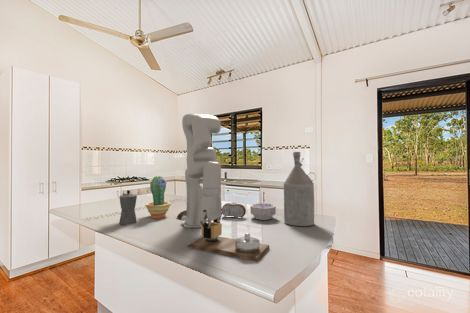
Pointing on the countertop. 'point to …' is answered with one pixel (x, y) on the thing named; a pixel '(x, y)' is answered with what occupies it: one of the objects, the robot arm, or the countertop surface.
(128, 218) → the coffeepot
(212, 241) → the round drawer knob
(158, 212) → the potted cactus
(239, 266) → the countertop surface
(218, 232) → the hollow square block
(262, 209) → the paper bowls
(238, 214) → the tin
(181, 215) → the bread roll
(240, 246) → the hub
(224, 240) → the board
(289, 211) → the grey bottle
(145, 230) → the countertop surface
